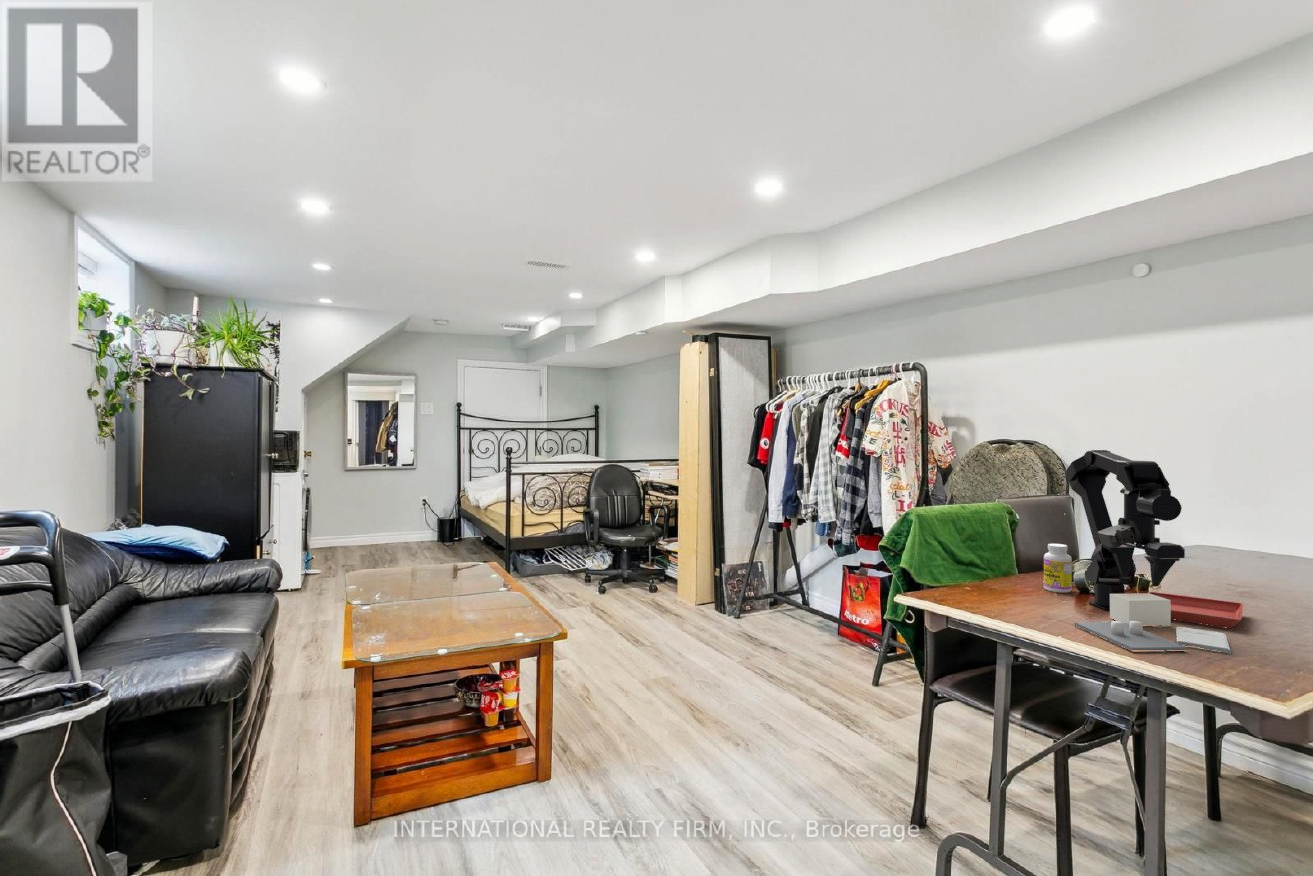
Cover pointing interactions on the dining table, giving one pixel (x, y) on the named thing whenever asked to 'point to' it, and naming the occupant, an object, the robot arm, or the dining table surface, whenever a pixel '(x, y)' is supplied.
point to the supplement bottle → (1058, 569)
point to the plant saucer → (1204, 610)
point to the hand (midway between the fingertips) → (1139, 581)
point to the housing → (1140, 609)
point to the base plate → (1129, 635)
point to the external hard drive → (1202, 639)
